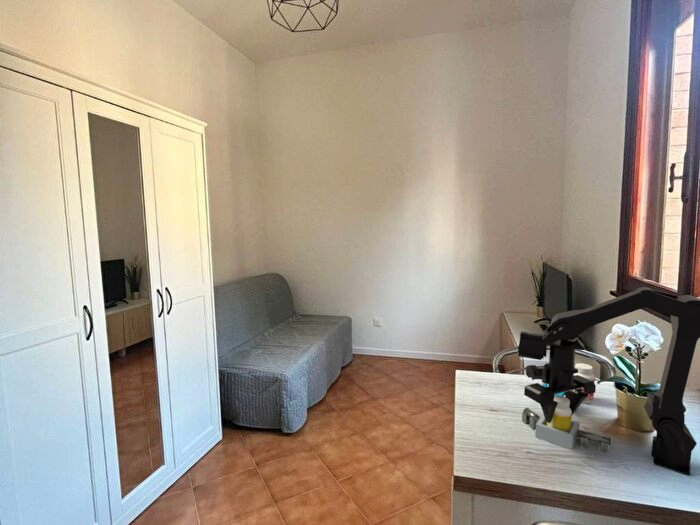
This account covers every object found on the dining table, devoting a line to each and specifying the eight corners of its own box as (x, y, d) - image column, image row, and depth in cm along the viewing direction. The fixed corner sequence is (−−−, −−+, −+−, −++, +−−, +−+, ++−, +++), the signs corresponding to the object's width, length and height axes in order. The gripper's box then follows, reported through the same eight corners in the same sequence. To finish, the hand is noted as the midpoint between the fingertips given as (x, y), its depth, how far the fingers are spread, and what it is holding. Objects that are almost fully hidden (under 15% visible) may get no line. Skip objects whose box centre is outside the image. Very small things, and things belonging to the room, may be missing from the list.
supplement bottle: (574, 437, 98) (578, 402, 96) (557, 441, 96) (560, 406, 95) (557, 425, 103) (561, 392, 101) (541, 429, 101) (544, 395, 100)
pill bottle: (585, 395, 122) (587, 362, 121) (597, 404, 116) (600, 370, 115) (566, 395, 122) (568, 362, 121) (577, 404, 116) (579, 370, 115)
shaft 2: (609, 447, 95) (610, 434, 94) (610, 454, 92) (611, 440, 91) (576, 439, 98) (577, 426, 98) (576, 445, 95) (577, 432, 95)
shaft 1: (545, 429, 103) (545, 417, 102) (534, 430, 102) (535, 418, 102) (530, 418, 108) (531, 407, 108) (521, 420, 108) (521, 408, 107)
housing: (578, 434, 100) (579, 422, 100) (571, 449, 94) (572, 436, 93) (544, 423, 106) (544, 411, 105) (535, 437, 99) (535, 424, 99)
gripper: (561, 348, 108) (558, 399, 110) (509, 356, 102) (507, 411, 104) (599, 361, 98) (595, 418, 99) (543, 372, 91) (540, 433, 93)
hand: (558, 419), depth 99 cm, fingers open, 7 cm apart
